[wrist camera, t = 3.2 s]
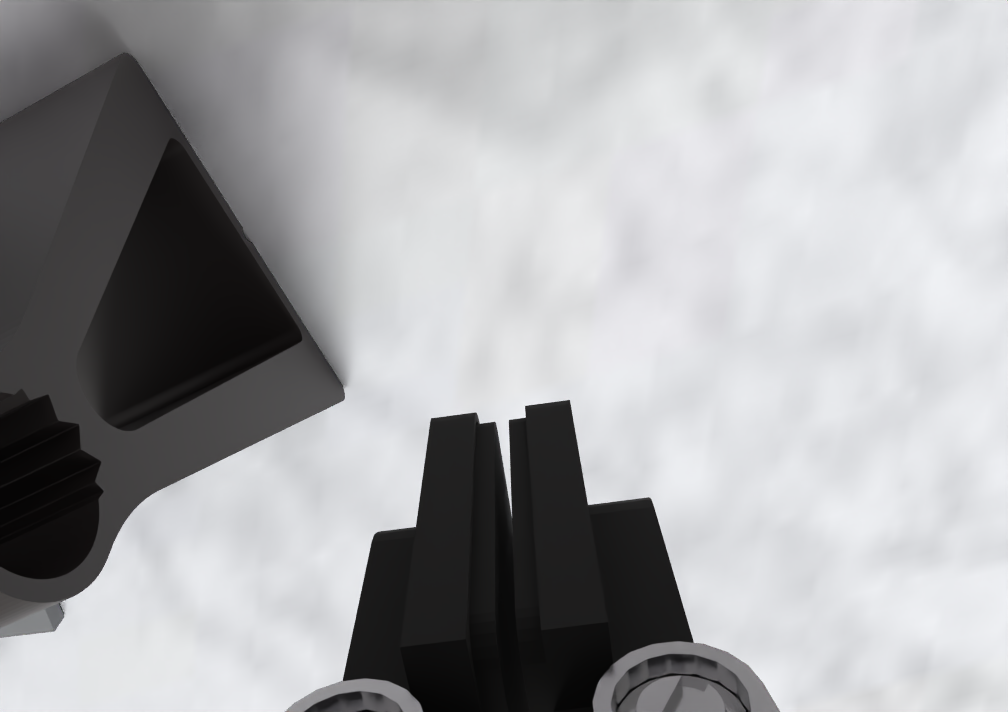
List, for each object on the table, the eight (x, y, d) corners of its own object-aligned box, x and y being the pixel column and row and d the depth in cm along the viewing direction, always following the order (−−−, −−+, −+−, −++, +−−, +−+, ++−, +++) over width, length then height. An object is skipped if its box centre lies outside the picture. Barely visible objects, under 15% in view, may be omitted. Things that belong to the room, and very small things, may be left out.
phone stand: (-91, 173, 20) (-793, 442, 9) (133, 49, 19) (-364, 185, 8) (146, 484, 23) (-165, 952, 13) (347, 393, 22) (200, 818, 11)
